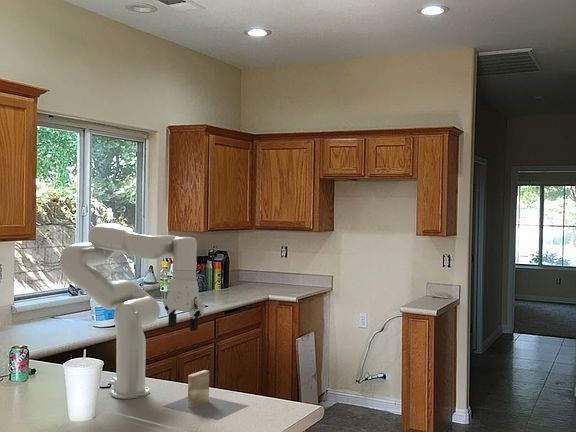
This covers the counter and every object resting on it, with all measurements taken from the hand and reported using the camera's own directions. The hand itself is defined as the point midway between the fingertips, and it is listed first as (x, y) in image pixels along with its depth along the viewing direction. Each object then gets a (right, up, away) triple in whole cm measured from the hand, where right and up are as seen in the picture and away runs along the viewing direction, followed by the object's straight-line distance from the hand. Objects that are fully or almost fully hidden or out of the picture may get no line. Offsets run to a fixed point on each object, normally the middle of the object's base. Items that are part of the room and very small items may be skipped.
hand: (182, 328), depth 204 cm
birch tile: (+5, -24, -3) cm, 25 cm away
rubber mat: (+8, -24, -5) cm, 26 cm away
